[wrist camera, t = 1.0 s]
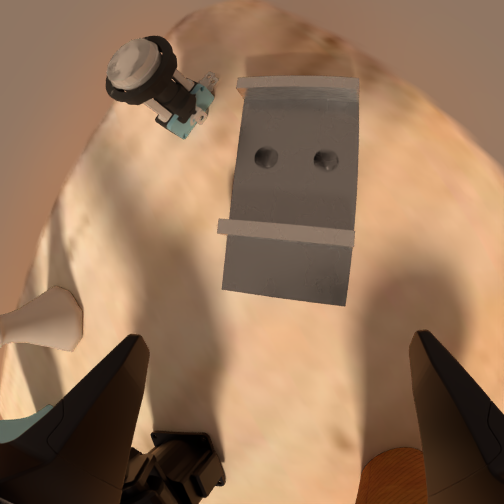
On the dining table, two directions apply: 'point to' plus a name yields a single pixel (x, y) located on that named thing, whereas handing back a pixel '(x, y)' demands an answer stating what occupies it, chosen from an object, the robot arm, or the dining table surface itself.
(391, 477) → the disposable coffee cup
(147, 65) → the push button
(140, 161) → the dining table surface
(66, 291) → the flask
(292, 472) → the dining table surface
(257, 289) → the bracket
